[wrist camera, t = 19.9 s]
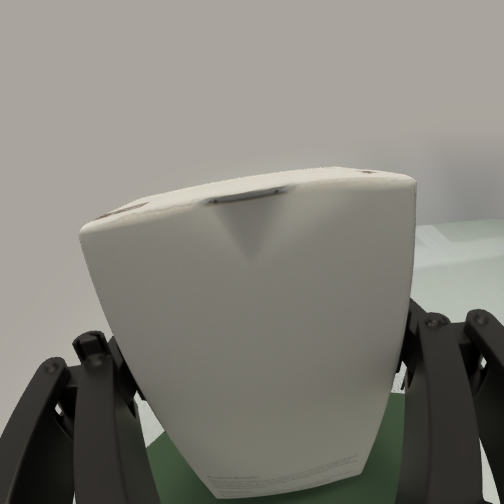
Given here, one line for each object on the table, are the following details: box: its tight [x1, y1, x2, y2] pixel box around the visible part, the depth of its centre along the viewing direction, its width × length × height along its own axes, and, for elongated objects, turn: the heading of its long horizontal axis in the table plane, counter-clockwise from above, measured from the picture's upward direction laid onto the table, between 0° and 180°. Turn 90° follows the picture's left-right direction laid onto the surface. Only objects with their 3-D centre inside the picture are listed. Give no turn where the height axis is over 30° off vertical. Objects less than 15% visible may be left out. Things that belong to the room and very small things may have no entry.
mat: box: [146, 393, 405, 504], centre depth 13 cm, size 18×18×1 cm
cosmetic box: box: [79, 166, 417, 499], centre depth 10 cm, size 8×6×15 cm
